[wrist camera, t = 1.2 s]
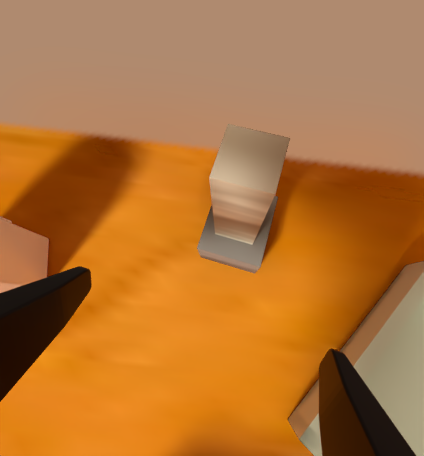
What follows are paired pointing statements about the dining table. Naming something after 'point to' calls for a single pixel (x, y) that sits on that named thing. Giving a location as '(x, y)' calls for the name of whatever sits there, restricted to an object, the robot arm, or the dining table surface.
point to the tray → (384, 362)
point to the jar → (21, 256)
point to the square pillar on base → (243, 197)
